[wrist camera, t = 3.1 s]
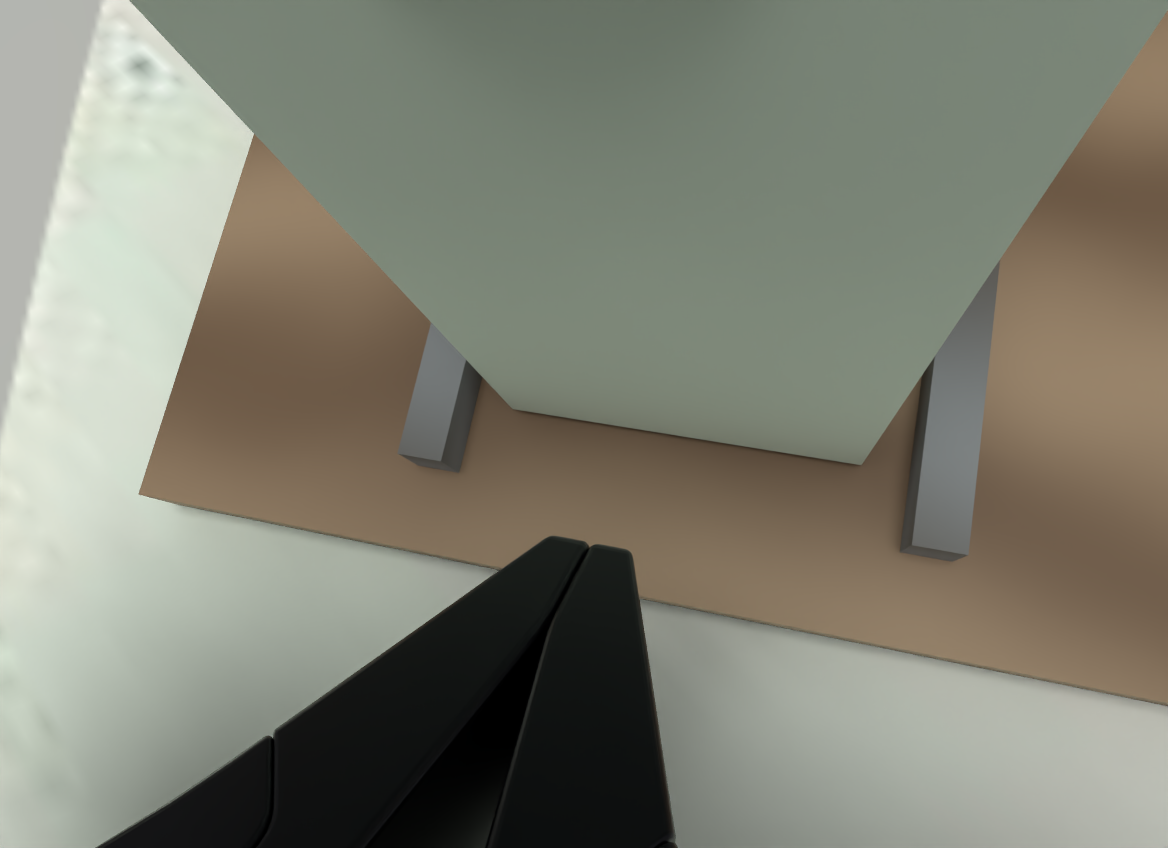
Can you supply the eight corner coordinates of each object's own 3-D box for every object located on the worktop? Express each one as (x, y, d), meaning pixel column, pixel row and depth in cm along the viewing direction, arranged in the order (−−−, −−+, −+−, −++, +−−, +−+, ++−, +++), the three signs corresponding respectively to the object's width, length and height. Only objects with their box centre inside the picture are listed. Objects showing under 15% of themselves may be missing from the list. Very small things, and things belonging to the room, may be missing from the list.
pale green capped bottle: (858, 492, 14) (1833, -781, 2) (506, 433, 15) (-515, -524, 3) (891, 244, 15) (1664, -1787, 2) (558, 208, 16) (-32, -1249, 4)
